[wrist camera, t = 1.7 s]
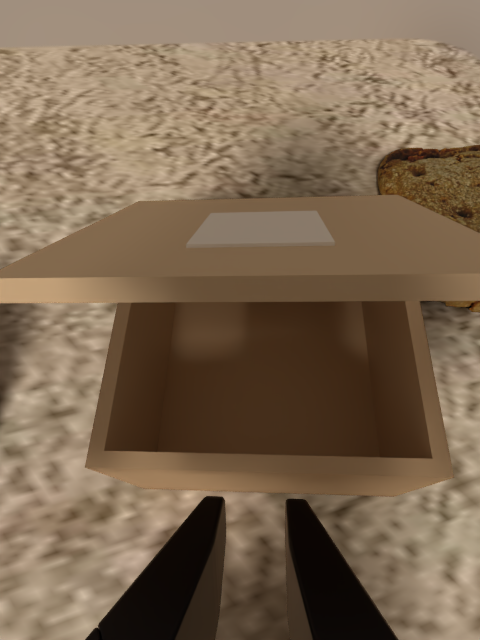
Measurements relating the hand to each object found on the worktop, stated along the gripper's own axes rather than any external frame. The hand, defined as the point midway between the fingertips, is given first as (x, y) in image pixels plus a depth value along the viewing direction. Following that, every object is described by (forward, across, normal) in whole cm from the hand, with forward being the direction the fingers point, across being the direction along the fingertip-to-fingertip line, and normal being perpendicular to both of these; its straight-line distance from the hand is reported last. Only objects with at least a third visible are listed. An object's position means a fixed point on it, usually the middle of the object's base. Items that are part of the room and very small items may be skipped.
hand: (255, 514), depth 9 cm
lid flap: (+8, 0, -5) cm, 9 cm away
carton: (+15, 0, +4) cm, 16 cm away
